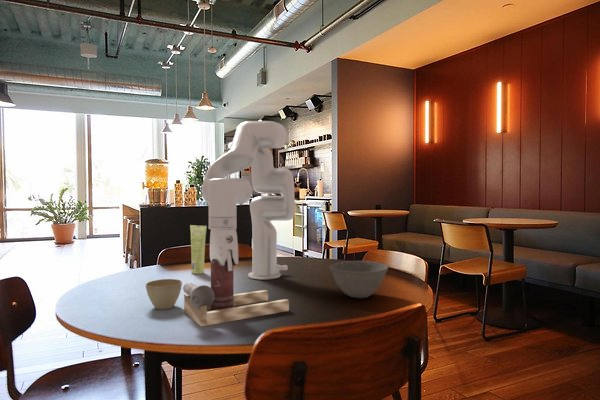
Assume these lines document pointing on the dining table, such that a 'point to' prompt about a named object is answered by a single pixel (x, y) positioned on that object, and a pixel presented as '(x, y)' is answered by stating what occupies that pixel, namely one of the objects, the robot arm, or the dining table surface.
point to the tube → (197, 248)
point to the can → (221, 286)
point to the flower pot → (164, 292)
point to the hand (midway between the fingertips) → (222, 289)
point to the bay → (203, 297)
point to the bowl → (358, 277)
